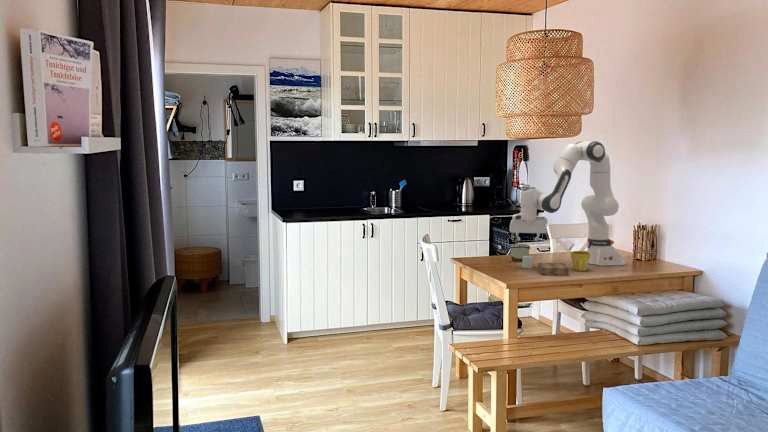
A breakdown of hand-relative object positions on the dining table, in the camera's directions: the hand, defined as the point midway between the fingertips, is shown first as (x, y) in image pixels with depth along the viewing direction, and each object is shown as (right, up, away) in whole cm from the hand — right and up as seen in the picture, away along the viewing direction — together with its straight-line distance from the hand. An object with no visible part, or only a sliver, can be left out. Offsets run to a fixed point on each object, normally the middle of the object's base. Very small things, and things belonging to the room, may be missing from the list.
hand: (527, 240), depth 363 cm
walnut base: (+11, -17, -13) cm, 24 cm away
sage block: (0, -15, +2) cm, 15 cm away
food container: (-1, -13, +19) cm, 23 cm away
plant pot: (+28, -16, -6) cm, 33 cm away
